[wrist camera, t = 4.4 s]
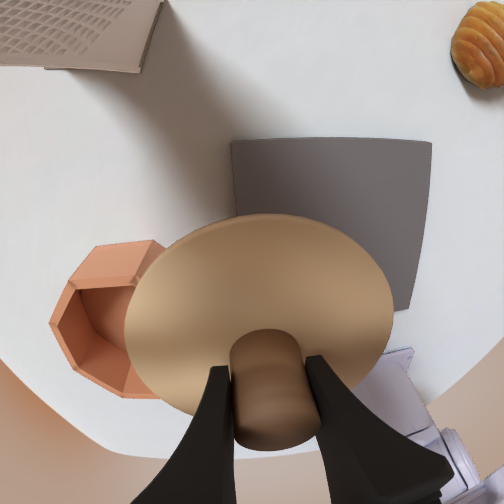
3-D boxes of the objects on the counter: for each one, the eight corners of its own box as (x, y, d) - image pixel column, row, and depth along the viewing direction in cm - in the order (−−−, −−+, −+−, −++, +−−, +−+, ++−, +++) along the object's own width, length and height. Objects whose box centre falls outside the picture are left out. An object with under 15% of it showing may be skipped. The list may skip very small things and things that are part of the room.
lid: (359, 398, 16) (384, 461, 12) (162, 417, 16) (155, 486, 11) (407, 208, 11) (486, 265, 7) (97, 226, 10) (35, 300, 6)
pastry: (473, 109, 16) (508, 114, 13) (428, 33, 14) (461, 25, 10) (517, 62, 14) (547, 63, 11) (480, -3, 12) (509, -10, 8)
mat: (404, 303, 23) (408, 308, 22) (246, 326, 22) (247, 333, 21) (425, 141, 17) (432, 143, 16) (230, 141, 16) (230, 142, 16)
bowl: (218, 353, 23) (218, 397, 19) (103, 356, 23) (88, 396, 19) (198, 234, 19) (191, 269, 15) (61, 250, 18) (30, 282, 14)
